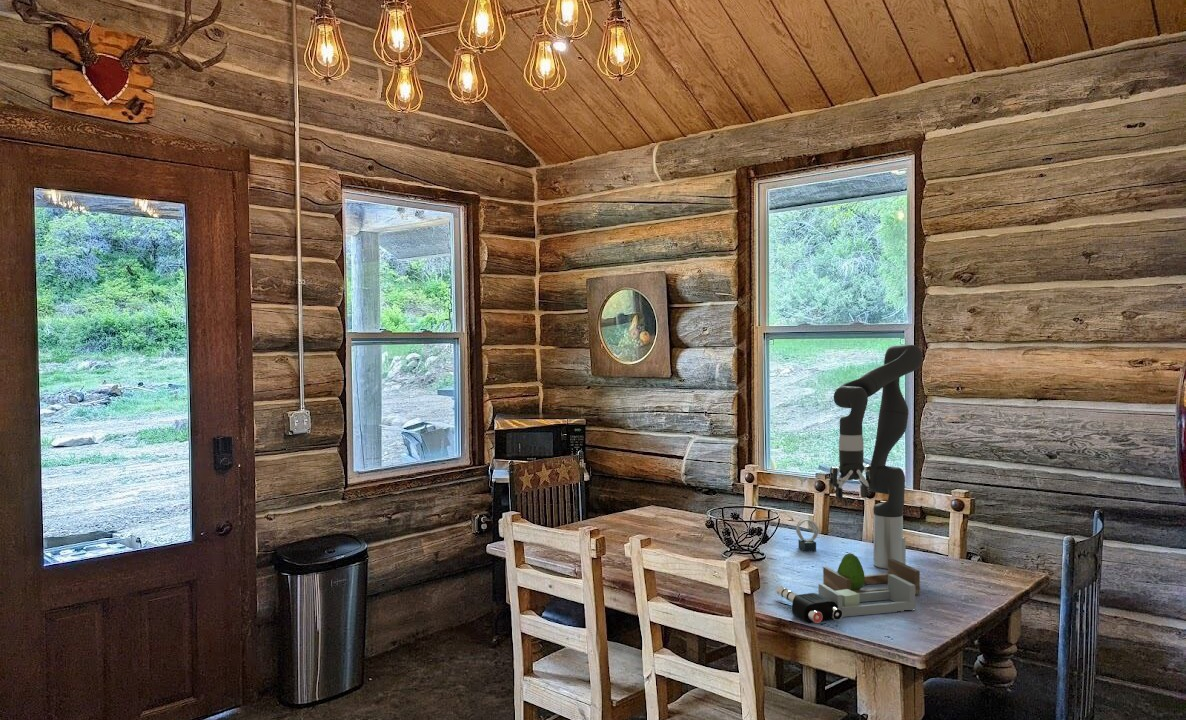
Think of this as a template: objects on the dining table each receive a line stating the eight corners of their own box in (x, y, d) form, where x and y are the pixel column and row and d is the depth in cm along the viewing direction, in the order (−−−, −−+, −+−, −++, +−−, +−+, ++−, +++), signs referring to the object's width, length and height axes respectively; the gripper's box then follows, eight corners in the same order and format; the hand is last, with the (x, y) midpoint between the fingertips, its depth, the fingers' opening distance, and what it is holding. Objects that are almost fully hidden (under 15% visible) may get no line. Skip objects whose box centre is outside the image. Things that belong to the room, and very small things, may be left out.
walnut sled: (892, 580, 254) (892, 558, 253) (919, 594, 240) (919, 570, 240) (823, 586, 249) (823, 563, 248) (846, 600, 235) (846, 576, 235)
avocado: (847, 598, 238) (847, 557, 237) (831, 590, 245) (831, 551, 245) (870, 595, 240) (870, 555, 240) (854, 587, 248) (853, 548, 247)
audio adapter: (810, 608, 214) (760, 581, 238) (810, 628, 214) (760, 599, 238) (845, 603, 218) (792, 577, 241) (845, 623, 218) (793, 595, 241)
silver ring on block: (821, 550, 291) (821, 520, 291) (800, 552, 290) (799, 521, 289) (814, 547, 296) (814, 517, 296) (793, 548, 295) (793, 518, 295)
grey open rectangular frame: (892, 597, 237) (892, 574, 237) (915, 610, 226) (915, 585, 226) (818, 604, 232) (818, 580, 232) (838, 617, 221) (838, 591, 221)
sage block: (847, 606, 231) (847, 588, 231) (859, 611, 226) (859, 593, 226) (833, 608, 229) (833, 591, 229) (845, 614, 224) (845, 596, 224)
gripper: (864, 445, 267) (865, 494, 267) (825, 447, 263) (825, 497, 264) (877, 448, 259) (878, 499, 260) (837, 451, 256) (837, 502, 257)
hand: (851, 498), depth 262 cm, fingers open, 8 cm apart
